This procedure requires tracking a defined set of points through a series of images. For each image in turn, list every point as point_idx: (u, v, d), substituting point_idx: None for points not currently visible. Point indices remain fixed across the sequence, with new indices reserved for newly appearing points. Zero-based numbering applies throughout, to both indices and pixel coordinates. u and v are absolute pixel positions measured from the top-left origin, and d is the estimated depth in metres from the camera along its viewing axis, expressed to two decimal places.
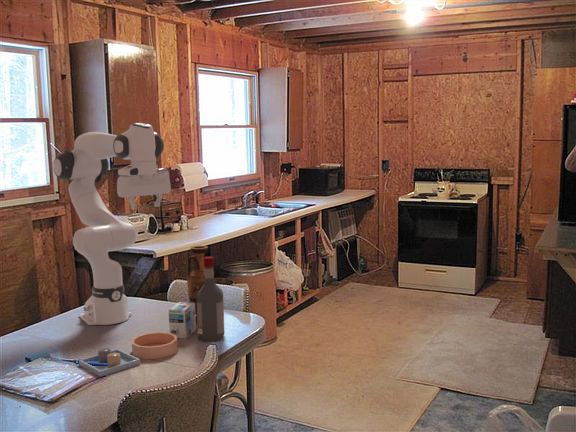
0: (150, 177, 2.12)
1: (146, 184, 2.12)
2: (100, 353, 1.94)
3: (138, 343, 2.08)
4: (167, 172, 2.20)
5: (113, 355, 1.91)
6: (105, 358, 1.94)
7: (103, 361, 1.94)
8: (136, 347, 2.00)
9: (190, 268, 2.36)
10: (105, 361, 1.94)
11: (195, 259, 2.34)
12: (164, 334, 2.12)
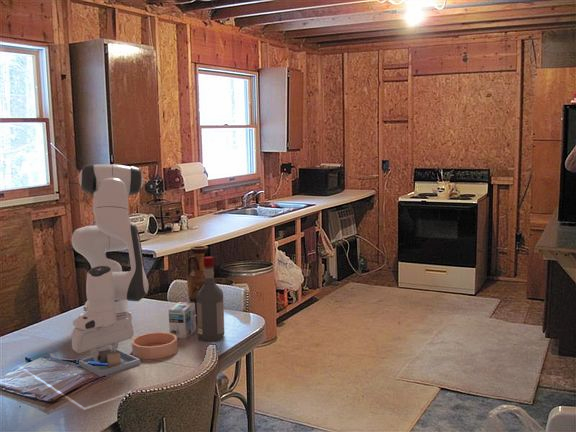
0: (109, 327, 1.93)
1: (105, 334, 1.93)
2: (100, 353, 1.94)
3: (138, 343, 2.08)
4: (129, 315, 2.01)
5: (113, 355, 1.91)
6: (105, 358, 1.94)
7: (103, 361, 1.94)
8: (136, 347, 2.00)
9: (190, 268, 2.36)
10: (105, 361, 1.94)
11: (195, 259, 2.34)
12: (164, 334, 2.12)
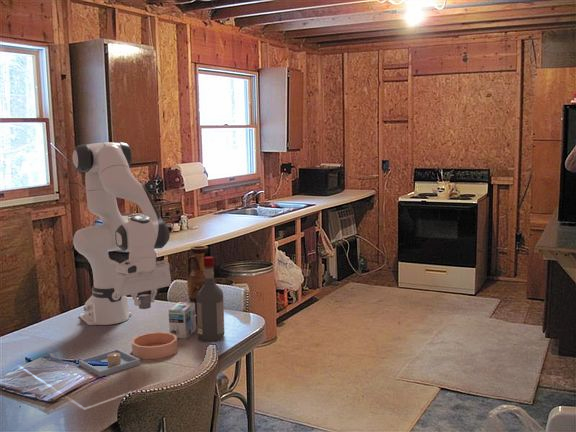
0: (149, 273, 2.02)
1: (145, 280, 2.02)
2: (140, 298, 2.03)
3: (138, 343, 2.08)
4: (167, 264, 2.10)
5: (113, 355, 1.91)
6: (145, 303, 2.03)
7: (143, 306, 2.03)
8: (136, 347, 2.00)
9: (190, 268, 2.36)
10: (145, 306, 2.03)
11: (195, 259, 2.34)
12: (164, 334, 2.12)
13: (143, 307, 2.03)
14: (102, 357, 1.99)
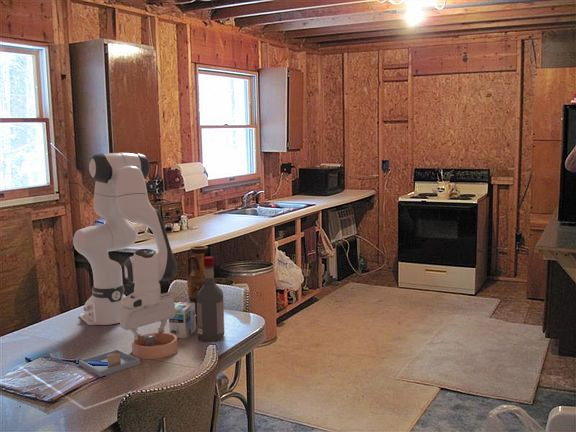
0: (154, 306, 2.04)
1: (150, 313, 2.05)
2: (146, 339, 2.05)
3: (138, 343, 2.08)
4: (171, 296, 2.12)
5: (113, 355, 1.91)
6: (150, 343, 2.06)
7: (149, 346, 2.06)
8: (136, 347, 2.00)
9: (190, 268, 2.36)
10: (150, 346, 2.06)
11: (195, 259, 2.34)
12: (164, 334, 2.12)
13: None
14: (102, 357, 1.99)
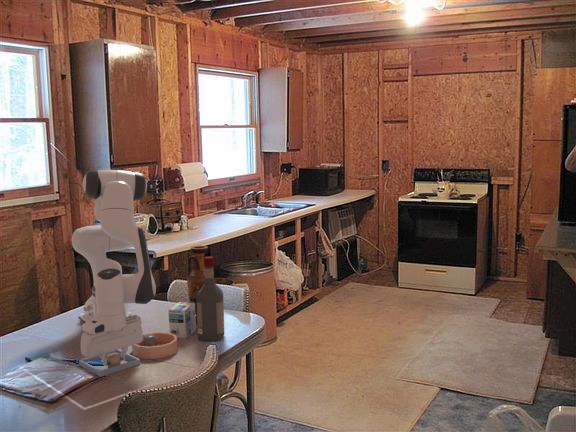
0: (118, 331, 1.88)
1: (114, 338, 1.89)
2: (146, 339, 2.05)
3: (138, 343, 2.08)
4: (139, 319, 1.96)
5: (113, 355, 1.91)
6: (151, 343, 2.06)
7: (149, 346, 2.06)
8: (136, 347, 2.00)
9: (190, 268, 2.36)
10: (150, 346, 2.06)
11: (195, 259, 2.34)
12: (164, 334, 2.12)
13: None
14: None
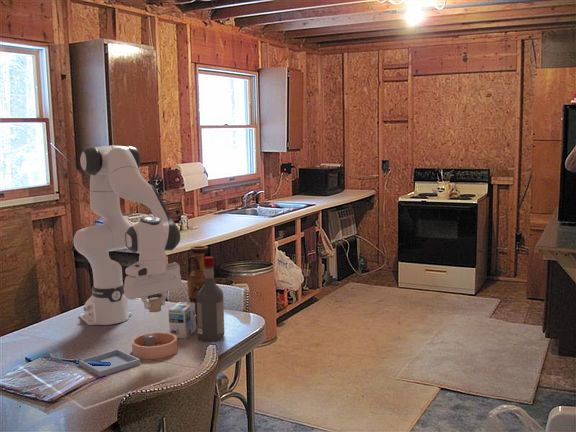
0: (160, 275, 1.98)
1: (155, 282, 1.98)
2: (146, 339, 2.05)
3: (138, 343, 2.08)
4: (178, 266, 2.06)
5: (154, 299, 2.00)
6: (151, 343, 2.06)
7: (149, 346, 2.06)
8: (136, 347, 2.00)
9: (190, 268, 2.36)
10: (150, 346, 2.06)
11: (195, 259, 2.34)
12: (164, 334, 2.12)
13: None
14: (102, 357, 1.99)
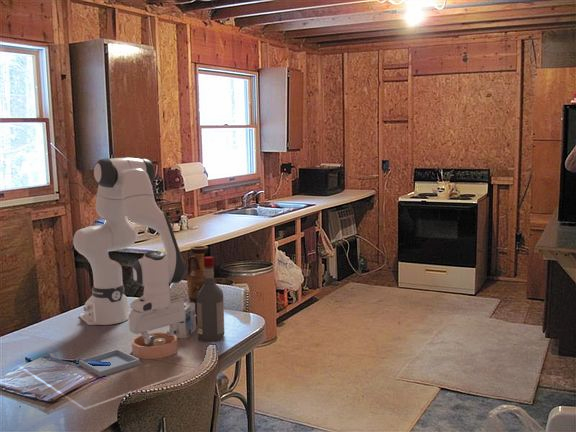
0: (164, 309, 2.00)
1: (160, 316, 2.01)
2: None
3: (138, 343, 2.08)
4: (181, 299, 2.08)
5: (159, 340, 2.03)
6: (151, 343, 2.06)
7: (149, 346, 2.06)
8: (136, 347, 2.00)
9: (190, 268, 2.36)
10: (151, 346, 2.06)
11: (195, 259, 2.34)
12: (164, 334, 2.12)
13: None
14: (102, 357, 1.99)
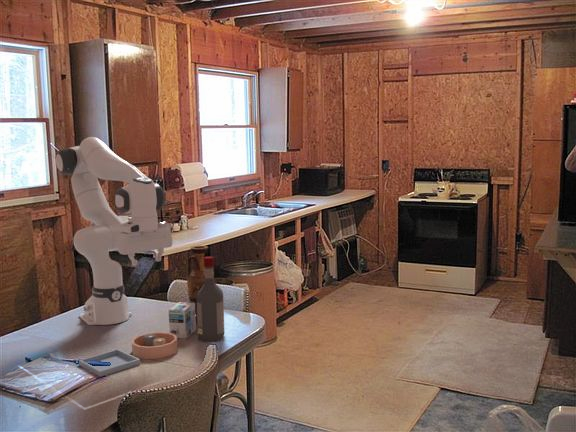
0: (151, 233, 2.08)
1: (147, 240, 2.08)
2: (146, 339, 2.05)
3: (138, 343, 2.08)
4: (168, 225, 2.16)
5: (159, 340, 2.03)
6: (151, 343, 2.06)
7: (149, 346, 2.06)
8: (136, 347, 2.00)
9: (190, 268, 2.36)
10: (151, 346, 2.06)
11: (195, 259, 2.34)
12: (164, 334, 2.12)
13: None
14: (102, 357, 1.99)
